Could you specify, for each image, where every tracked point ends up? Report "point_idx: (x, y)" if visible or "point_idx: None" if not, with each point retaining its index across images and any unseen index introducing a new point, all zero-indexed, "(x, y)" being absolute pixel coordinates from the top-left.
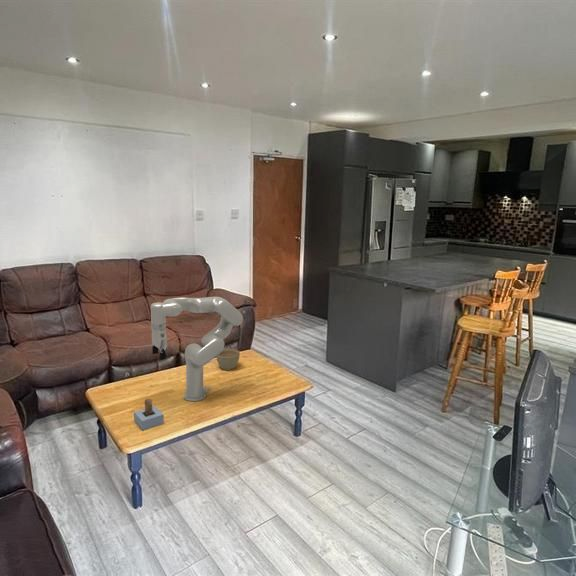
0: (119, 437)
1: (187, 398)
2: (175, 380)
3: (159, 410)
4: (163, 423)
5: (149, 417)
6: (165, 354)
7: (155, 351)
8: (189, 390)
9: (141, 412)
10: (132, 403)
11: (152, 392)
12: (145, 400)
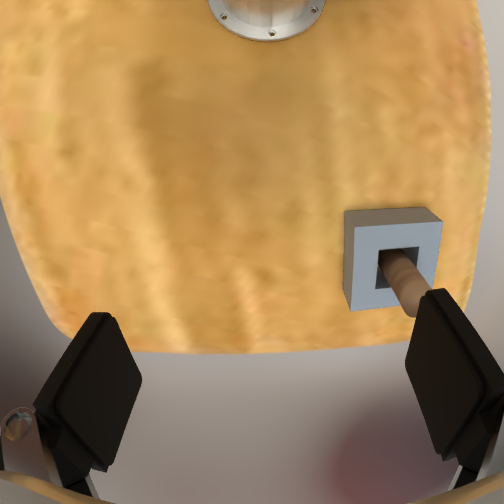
0: (401, 338)
1: (291, 33)
2: (59, 45)
3: (405, 224)
4: (424, 208)
5: (427, 274)
6: (478, 348)
7: (118, 382)
8: (292, 10)
9: (373, 289)
10: (197, 261)
11: (126, 161)
12: (410, 313)
